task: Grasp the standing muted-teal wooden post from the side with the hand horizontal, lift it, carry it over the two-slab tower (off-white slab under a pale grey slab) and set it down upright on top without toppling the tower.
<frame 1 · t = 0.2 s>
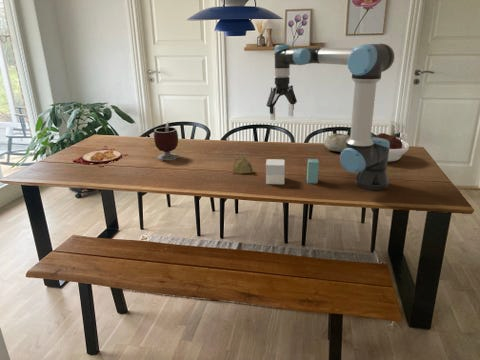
hand: (282, 118, 202), 27 cm above the table, tool pointing down, fingers open, 13 cm apart
teal post: (312, 181, 190), on the table
decorative shell: (338, 150, 238), on the table
tower base: (275, 181, 192), on the table
mate gourd: (168, 157, 230), on the table
plate with food: (103, 159, 230), on the table
tower top: (275, 171, 190), point 5 cm above the table
rock: (243, 172, 203), on the table
white shallow bowl: (383, 159, 221), on the table
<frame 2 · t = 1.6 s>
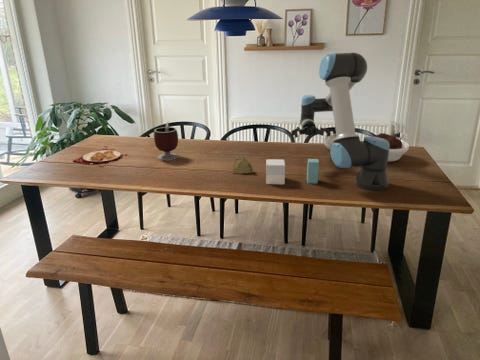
hand: (312, 137, 192), 20 cm above the table, tool horizontal, fingers open, 13 cm apart
nothing on the table moved.
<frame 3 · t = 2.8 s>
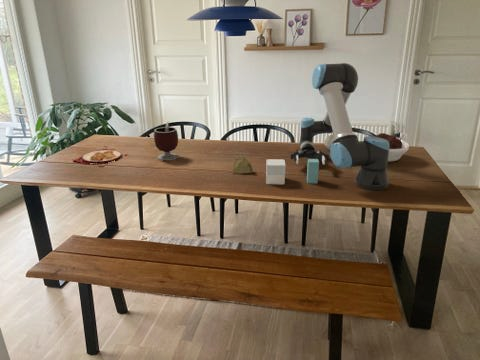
hand: (311, 161, 197), 7 cm above the table, tool horizontal, fingers open, 13 cm apart
tower base: (275, 181, 192), on the table, touching tower top
tower top: (275, 171, 190), point 5 cm above the table, touching tower base
everything else where it was.
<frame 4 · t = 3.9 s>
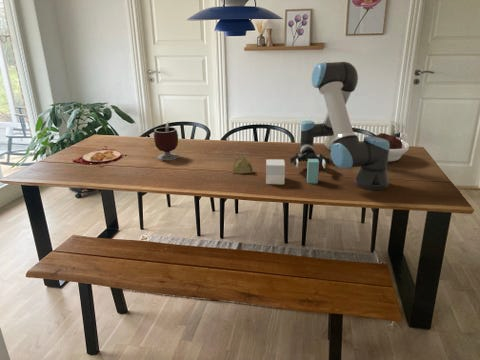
hand: (311, 165, 193), 6 cm above the table, tool horizontal, fingers open, 13 cm apart
nothing on the table moved.
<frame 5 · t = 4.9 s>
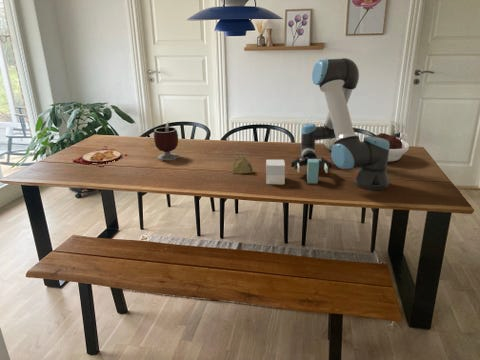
hand: (312, 170, 186), 6 cm above the table, tool horizontal, fingers open, 13 cm apart
nothing on the table moved.
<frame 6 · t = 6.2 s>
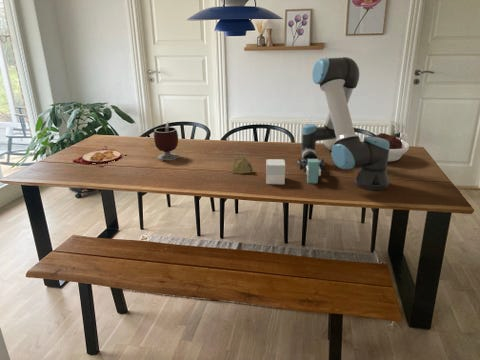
hand: (313, 172, 183), 7 cm above the table, tool horizontal, fingers closed on teal post, 5 cm apart
teal post: (312, 181, 190), on the table, touching gripper
everything else where it was.
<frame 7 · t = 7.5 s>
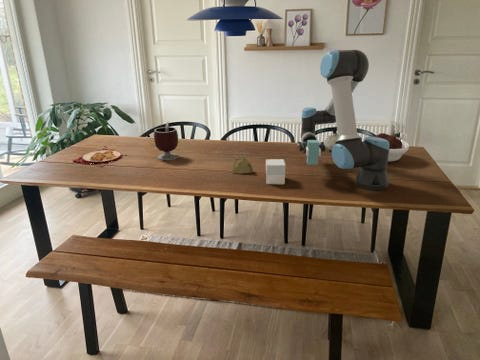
hand: (313, 153, 180), 16 cm above the table, tool horizontal, fingers closed on teal post, 5 cm apart
teal post: (312, 162, 187), point 9 cm above the table, touching gripper
everything else where it was.
when the fingers open (18 cm above the table, at t = 11.8 s): teal post drops 2 cm, resting on tower top.
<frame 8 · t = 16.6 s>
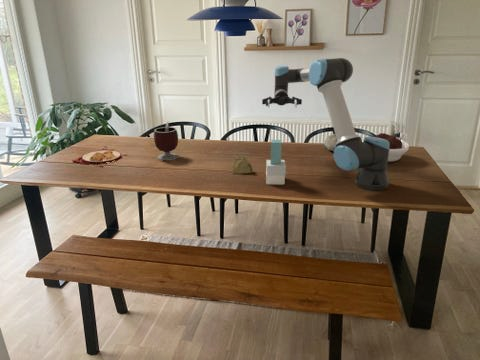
hand: (282, 104, 189), 36 cm above the table, tool horizontal, fingers open, 13 cm apart
teal post: (275, 162, 187), point 10 cm above the table, touching tower top
tower top: (275, 172, 189), point 5 cm above the table, touching teal post, tower base
everything else where it was.
at the end: teal post inside the target area on the tower top (0.1 cm from its centre), point 5.1 cm above the tower top's base; teal post tilted 2°; tower top moved 0.6 cm from its start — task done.
